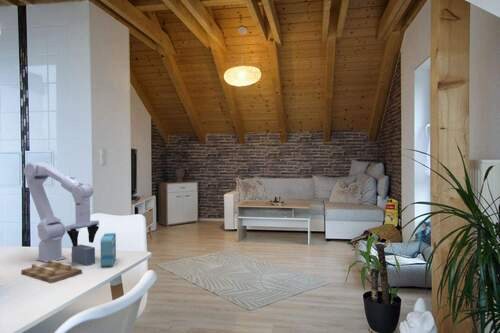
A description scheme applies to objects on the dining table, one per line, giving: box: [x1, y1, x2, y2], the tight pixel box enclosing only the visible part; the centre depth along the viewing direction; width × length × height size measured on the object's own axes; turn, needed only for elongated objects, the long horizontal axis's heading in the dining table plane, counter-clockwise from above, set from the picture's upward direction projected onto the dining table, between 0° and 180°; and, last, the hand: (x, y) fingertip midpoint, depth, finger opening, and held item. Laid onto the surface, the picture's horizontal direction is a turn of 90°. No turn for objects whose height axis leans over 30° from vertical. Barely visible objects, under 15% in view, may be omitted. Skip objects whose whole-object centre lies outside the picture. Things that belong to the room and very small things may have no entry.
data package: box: [100, 232, 117, 268], centre depth 148 cm, size 12×4×12 cm, turn 15°
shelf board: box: [20, 260, 83, 284], centre depth 135 cm, size 20×12×4 cm, turn 61°
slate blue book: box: [71, 243, 96, 267], centre depth 149 cm, size 10×4×7 cm, turn 61°
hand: (83, 244), depth 149 cm, fingers open, 7 cm apart
